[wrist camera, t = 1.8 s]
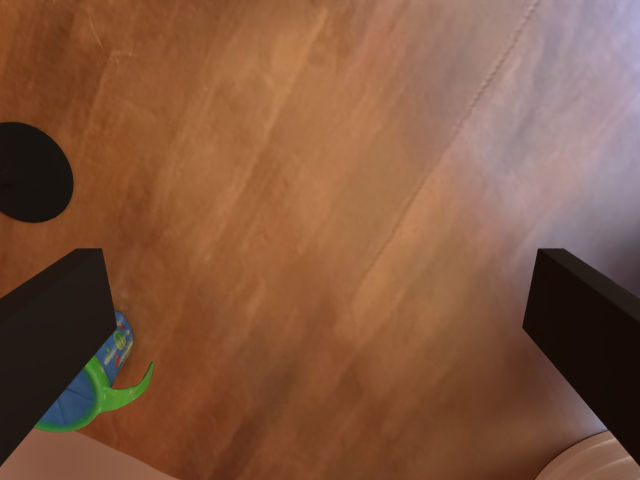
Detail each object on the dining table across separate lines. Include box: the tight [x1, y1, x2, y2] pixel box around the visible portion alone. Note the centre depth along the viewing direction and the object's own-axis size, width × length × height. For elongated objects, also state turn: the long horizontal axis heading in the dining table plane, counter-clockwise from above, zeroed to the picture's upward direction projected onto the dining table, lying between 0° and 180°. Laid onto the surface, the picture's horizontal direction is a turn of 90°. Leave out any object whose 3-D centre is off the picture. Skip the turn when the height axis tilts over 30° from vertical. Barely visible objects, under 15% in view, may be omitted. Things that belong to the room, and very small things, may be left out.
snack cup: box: [34, 310, 154, 432], centre depth 43 cm, size 16×10×10 cm
